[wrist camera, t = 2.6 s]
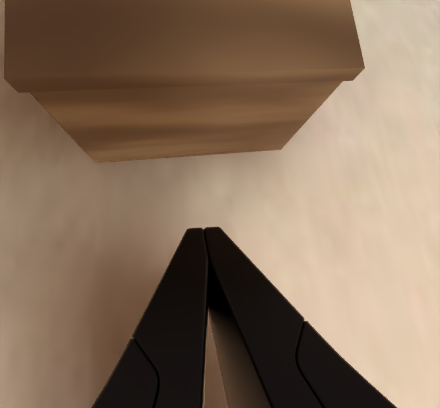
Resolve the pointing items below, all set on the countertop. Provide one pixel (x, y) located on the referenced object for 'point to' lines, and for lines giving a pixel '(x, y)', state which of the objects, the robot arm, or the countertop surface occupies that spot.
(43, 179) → the countertop surface
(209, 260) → the robot arm
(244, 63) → the recipe box
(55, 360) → the countertop surface
